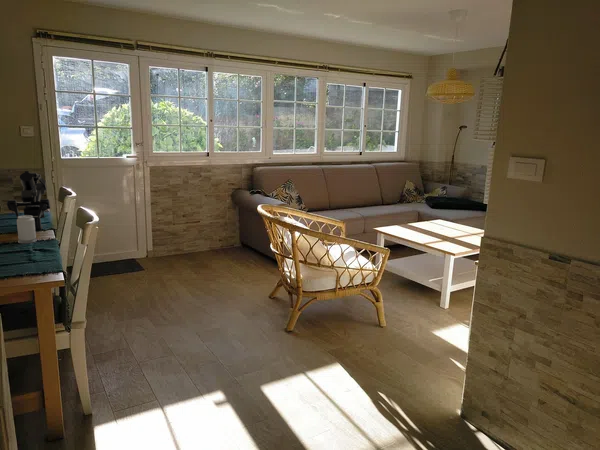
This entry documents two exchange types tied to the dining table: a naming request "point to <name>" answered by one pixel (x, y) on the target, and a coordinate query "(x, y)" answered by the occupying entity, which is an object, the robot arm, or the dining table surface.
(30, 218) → the can
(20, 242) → the coaster
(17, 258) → the dining table surface
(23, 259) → the dining table surface
